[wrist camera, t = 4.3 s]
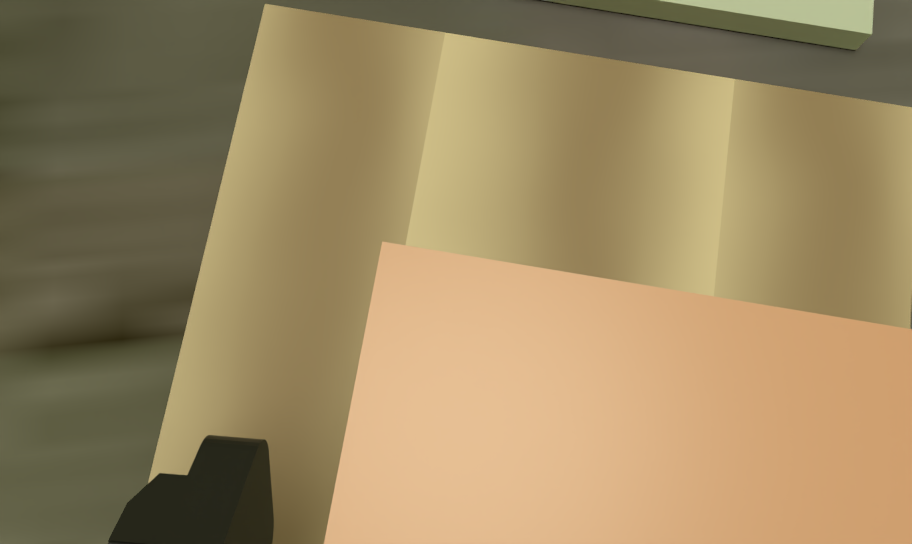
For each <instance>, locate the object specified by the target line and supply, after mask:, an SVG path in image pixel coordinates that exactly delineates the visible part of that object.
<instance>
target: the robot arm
mask: <svg viewBox="0 0 912 544" xmlns="http://www.w3.org/2000/svg"><path fill="white" fill-rule="evenodd" d="M273 532H274V513H273V500H272V487H271V473H270V460H269V448H268V443H267V441H266V440H265V439H253V438H241V437H229V436H217V435H208V436H206V437H205V438H204V440H203V441H202V443H201V445H200V447H199V450H198V452H197V454H196V456H195V459H194V461H193V463H192V466H191V468H190V470H189V472H188V475H178V474H166V473H159V474H158V475H157V476H156V477H155V478H154V479H153V480H152V481H151V482H149V483H148V484H147V485H146V486H145V487H144V488H143V489H142V490H141V491H140V492H139V493H138V494H137V495H136V496H134V497H133V498H132V499H131V500H130V501H129V502H128V503H127V505H126V507H125V509H124V511H123V513H122V515H121V517H120V519H119V520H118V522H117V524H116V526H115V528H114V530H113V532H112V534H111V536H110V538H109V540H108V541H109V543H108V544H272V542H273Z"/></svg>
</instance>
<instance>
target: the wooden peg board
mask: <svg viewBox="0 0 912 544" xmlns="http://www.w3.org/2000/svg"><path fill="white" fill-rule="evenodd" d="M382 242H388V243H394V244H400V245H406V246H412V247H418V248H424V249H430V250H437V251H443V252H449V253H455V254H461V255H467V256H473V257H479V258H485V259H491V260H497V261H503V262H509V263H515V264H521V265H527V266H533V267H539V268H545V269H551V270H557V271H563V272H569V273H575V274H581V275H587V276H593V277H599V278H605V279H612V280H618V281H624V282H630V283H636V284H642V285H648V286H654V287H660V288H666V289H672V290H678V291H684V292H690V293H696V294H702V295H708V296H714V297H720V298H726V299H732V300H738V301H744V302H750V303H756V304H762V305H768V306H774V307H780V308H787V309H793V310H799V311H805V312H811V313H817V314H823V315H829V316H835V317H841V318H847V319H853V320H859V321H865V322H871V323H877V324H883V325H889V326H895V327H901V328H907V329H910V321H911V296H912V107H905V106H899V105H893V104H887V103H880V102H874V101H868V100H862V99H855V98H849V97H843V96H837V95H830V94H824V93H818V92H812V91H805V90H799V89H793V88H787V87H781V86H774V85H768V84H762V83H756V82H749V81H743V80H737V79H731V78H724V77H718V76H712V75H706V74H699V73H693V72H687V71H681V70H674V69H668V68H662V67H656V66H650V65H643V64H637V63H631V62H625V61H618V60H612V59H606V58H600V57H593V56H587V55H581V54H575V53H568V52H562V51H556V50H550V49H543V48H537V47H531V46H525V45H518V44H512V43H506V42H500V41H494V40H487V39H481V38H475V37H469V36H462V35H456V34H450V33H444V32H437V31H431V30H425V29H419V28H412V27H406V26H400V25H394V24H387V23H381V22H375V21H369V20H363V19H356V18H350V17H344V16H338V15H331V14H325V13H319V12H313V11H306V10H300V9H294V8H288V7H281V6H275V5H269V4H265V6H264V10H263V15H262V19H261V23H260V27H259V31H258V35H257V39H256V43H255V47H254V51H253V55H252V60H251V64H250V68H249V72H248V76H247V80H246V84H245V88H244V92H243V96H242V100H241V105H240V109H239V113H238V117H237V121H236V125H235V129H234V133H233V137H232V141H231V146H230V150H229V154H228V158H227V162H226V166H225V170H224V174H223V178H222V182H221V186H220V191H219V195H218V199H217V203H216V207H215V211H214V215H213V219H212V223H211V227H210V232H209V236H208V240H207V244H206V248H205V252H204V256H203V260H202V264H201V268H200V272H199V277H198V281H197V285H196V289H195V293H194V297H193V301H192V305H191V309H190V313H189V317H188V322H187V326H186V330H185V334H184V338H183V342H182V346H181V350H180V354H179V358H178V363H177V367H176V371H175V375H174V379H173V383H172V387H171V391H170V395H169V399H168V403H167V408H166V412H165V416H164V420H163V424H162V428H161V432H160V436H159V440H158V444H157V448H156V453H155V457H154V461H153V465H152V469H151V473H150V477H149V481H148V483H149V482H151V481H152V480H153V479H154V478H155V477H156V476H157V475H158V474H159V473H166V474H178V475H188V472H189V470H190V468H191V466H192V463H193V461H194V459H195V456H196V454H197V452H198V450H199V447H200V445H201V443H202V441H203V440H204V438H205V437H206V436H208V435H217V436H229V437H241V438H253V439H265V440H266V441H267V443H268V448H269V460H270V473H271V487H272V500H273V513H274V532H273V542H272V544H324V540H325V535H326V530H327V524H328V519H329V514H330V509H331V504H332V499H333V493H334V488H335V483H336V478H337V473H338V468H339V462H340V457H341V452H342V447H343V442H344V437H345V431H346V426H347V421H348V416H349V411H350V406H351V400H352V395H353V390H354V385H355V380H356V375H357V369H358V364H359V359H360V354H361V349H362V344H363V338H364V333H365V328H366V323H367V318H368V313H369V307H370V302H371V297H372V292H373V287H374V282H375V276H376V271H377V266H378V261H379V256H380V251H381V245H382Z"/></svg>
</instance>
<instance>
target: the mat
mask: <svg viewBox="0 0 912 544" xmlns="http://www.w3.org/2000/svg"><path fill="white" fill-rule="evenodd" d="M543 1H550V2H556V3H562V4H568V5H575V6H581V7H587V8H593V9H600V10H606V11H612V12H619V13H625V14H631V15H637V16H644V17H650V18H656V19H663V20H669V21H675V22H681V23H688V24H694V25H700V26H707V27H713V28H719V29H725V30H732V31H738V32H744V33H751V34H757V35H763V36H769V37H776V38H782V39H788V40H795V41H801V42H807V43H813V44H820V45H826V46H832V47H839V48H845V49H851V50H856V49H857V48H858V47H859V46H860V45H861V44H862V43H863V42H864V41H865V40H866V39H868V38H869V37H870V36H871V35H872V23H873V5H874V0H543Z"/></svg>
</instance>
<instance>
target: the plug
mask: <svg viewBox="0 0 912 544" xmlns="http://www.w3.org/2000/svg"><path fill="white" fill-rule="evenodd" d="M324 544H912V329H907V328H901V327H895V326H889V325H883V324H877V323H871V322H865V321H859V320H853V319H847V318H841V317H835V316H829V315H823V314H817V313H811V312H805V311H799V310H793V309H787V308H780V307H774V306H768V305H762V304H756V303H750V302H744V301H738V300H732V299H726V298H720V297H714V296H708V295H702V294H696V293H690V292H684V291H678V290H672V289H666V288H660V287H654V286H648V285H642V284H636V283H630V282H624V281H618V280H612V279H605V278H599V277H593V276H587V275H581V274H575V273H569V272H563V271H557V270H551V269H545V268H539V267H533V266H527V265H521V264H515V263H509V262H503V261H497V260H491V259H485V258H479V257H473V256H467V255H461V254H455V253H449V252H443V251H437V250H430V249H424V248H418V247H412V246H406V245H400V244H394V243H388V242H382V245H381V251H380V256H379V261H378V266H377V271H376V276H375V282H374V287H373V292H372V297H371V302H370V307H369V313H368V318H367V323H366V328H365V333H364V338H363V344H362V349H361V354H360V359H359V364H358V369H357V375H356V380H355V385H354V390H353V395H352V400H351V406H350V411H349V416H348V421H347V426H346V431H345V437H344V442H343V447H342V452H341V457H340V462H339V468H338V473H337V478H336V483H335V488H334V493H333V499H332V504H331V509H330V514H329V519H328V524H327V530H326V535H325V540H324Z"/></svg>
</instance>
